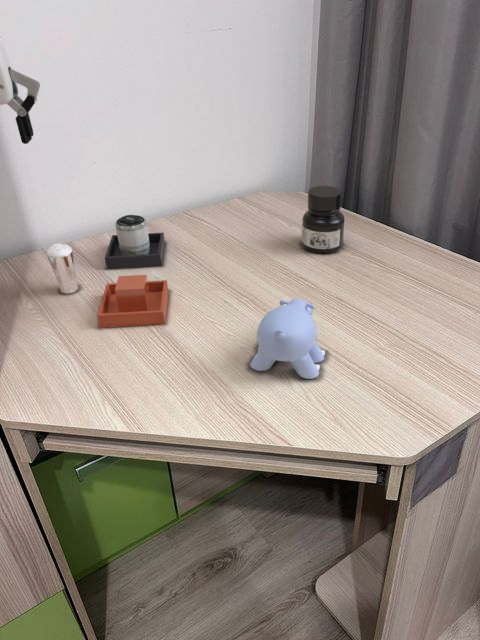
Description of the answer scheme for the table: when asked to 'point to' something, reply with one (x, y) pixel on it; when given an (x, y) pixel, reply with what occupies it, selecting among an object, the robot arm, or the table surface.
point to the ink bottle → (323, 220)
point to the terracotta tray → (155, 315)
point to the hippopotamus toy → (289, 339)
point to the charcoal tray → (152, 259)
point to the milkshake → (63, 267)
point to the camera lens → (133, 235)
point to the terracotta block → (132, 293)
